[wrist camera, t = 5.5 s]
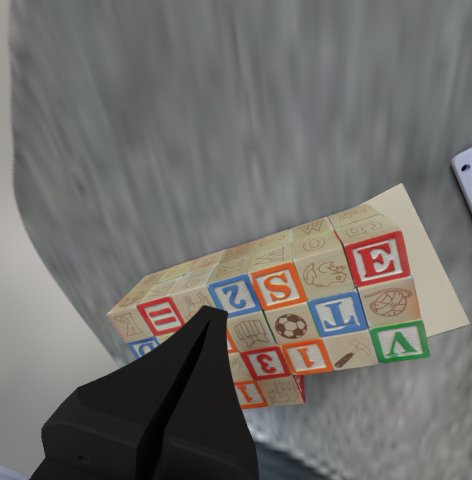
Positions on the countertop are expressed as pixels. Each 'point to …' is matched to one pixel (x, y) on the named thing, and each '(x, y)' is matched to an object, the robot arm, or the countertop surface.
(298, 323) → the stack of blocks
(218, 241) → the countertop surface
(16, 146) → the countertop surface
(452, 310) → the mat
